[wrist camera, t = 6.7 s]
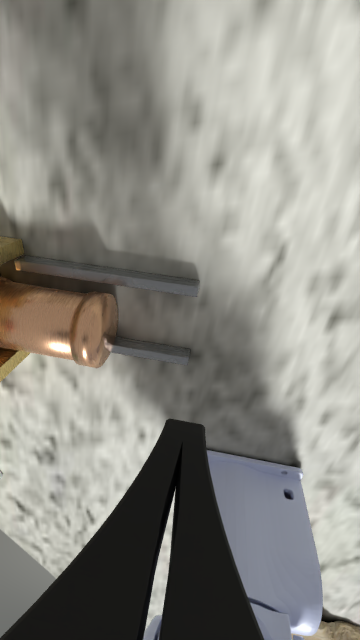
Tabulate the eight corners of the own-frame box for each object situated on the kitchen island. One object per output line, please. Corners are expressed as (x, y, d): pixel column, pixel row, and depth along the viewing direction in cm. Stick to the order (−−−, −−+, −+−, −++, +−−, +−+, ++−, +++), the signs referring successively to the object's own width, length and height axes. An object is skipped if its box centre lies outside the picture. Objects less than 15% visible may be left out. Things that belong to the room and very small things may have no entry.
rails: (199, 280, 17) (198, 287, 16) (189, 356, 19) (187, 365, 18) (24, 255, 17) (13, 260, 17) (39, 331, 20) (30, 338, 19)
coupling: (116, 280, 17) (85, 325, 14) (120, 334, 20) (95, 383, 16) (-7, 261, 18) (-66, 300, 14) (14, 317, 20) (-32, 360, 17)
